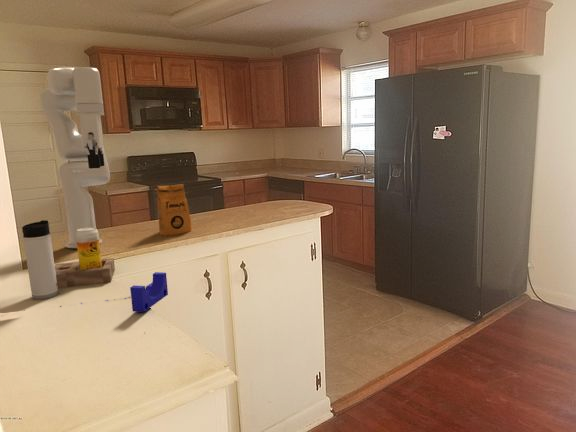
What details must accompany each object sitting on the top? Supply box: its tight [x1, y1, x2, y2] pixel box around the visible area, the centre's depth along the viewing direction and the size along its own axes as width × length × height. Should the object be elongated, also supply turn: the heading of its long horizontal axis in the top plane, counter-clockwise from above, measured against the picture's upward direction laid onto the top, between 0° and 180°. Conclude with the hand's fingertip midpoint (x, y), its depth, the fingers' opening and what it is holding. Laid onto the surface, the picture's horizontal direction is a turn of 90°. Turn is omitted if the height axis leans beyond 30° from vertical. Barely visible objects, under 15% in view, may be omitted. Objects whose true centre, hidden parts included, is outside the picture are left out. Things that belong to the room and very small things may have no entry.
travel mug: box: [21, 219, 59, 301], centre depth 120 cm, size 6×7×20 cm
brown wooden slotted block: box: [54, 257, 116, 289], centre depth 134 cm, size 12×17×4 cm
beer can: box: [76, 227, 102, 270], centre depth 134 cm, size 6×6×15 cm
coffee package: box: [156, 183, 193, 237], centre depth 182 cm, size 10×12×22 cm
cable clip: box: [129, 271, 169, 313], centre depth 113 cm, size 12×4×6 cm, turn 167°
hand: (97, 167), depth 140 cm, fingers open, 9 cm apart
